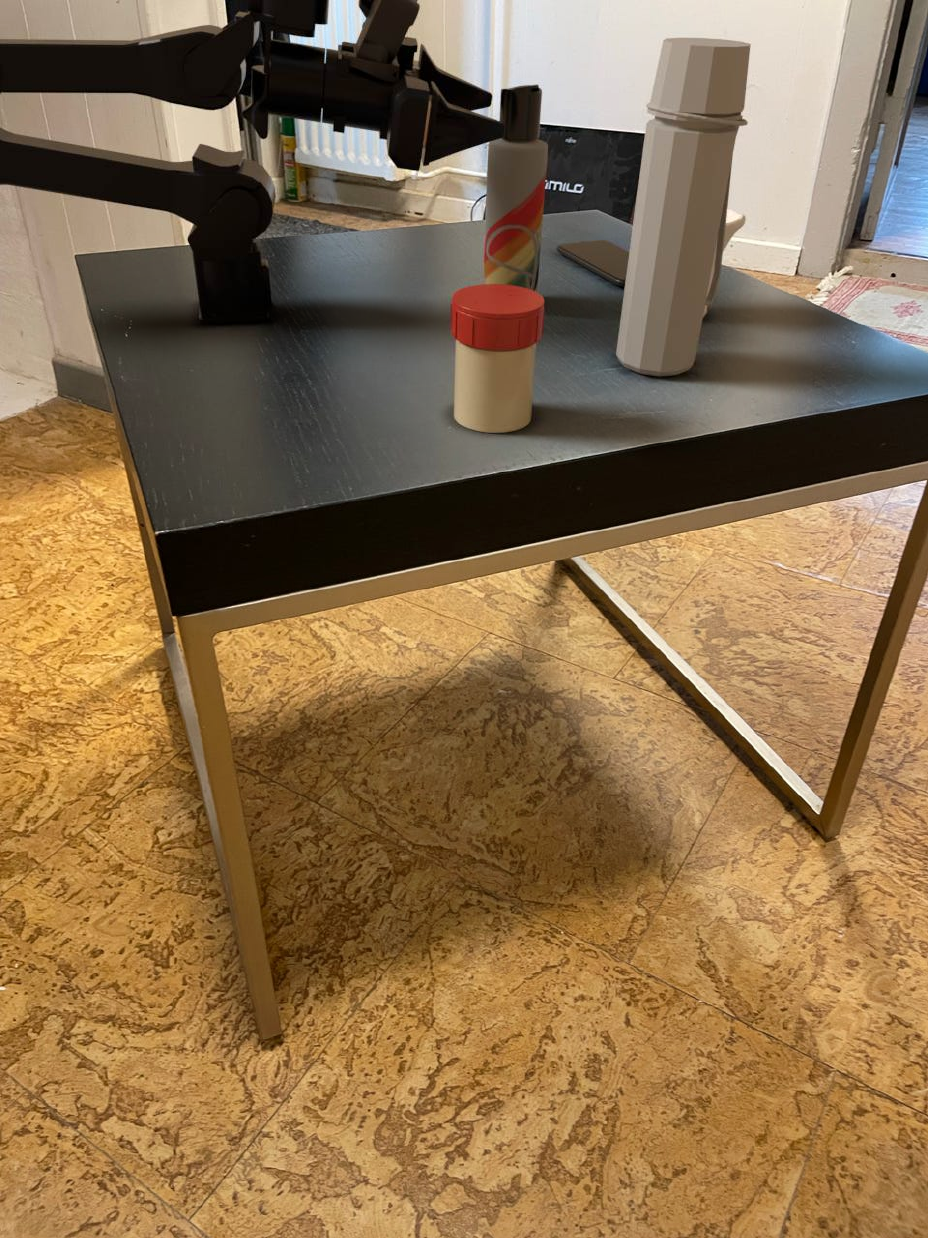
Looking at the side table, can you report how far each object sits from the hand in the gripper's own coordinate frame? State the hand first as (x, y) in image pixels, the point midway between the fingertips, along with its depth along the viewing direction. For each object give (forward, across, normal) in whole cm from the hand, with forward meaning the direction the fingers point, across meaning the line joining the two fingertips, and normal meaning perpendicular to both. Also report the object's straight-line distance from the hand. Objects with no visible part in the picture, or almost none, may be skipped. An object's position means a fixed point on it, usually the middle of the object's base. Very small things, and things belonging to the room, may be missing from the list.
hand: (497, 114), depth 85 cm
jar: (-1, -27, +15) cm, 31 cm away
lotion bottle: (+5, 0, +18) cm, 18 cm away
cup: (+22, -3, +15) cm, 27 cm away
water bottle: (+16, -17, +14) cm, 27 cm away
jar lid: (-2, -26, +6) cm, 27 cm away
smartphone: (+19, +13, +17) cm, 28 cm away
